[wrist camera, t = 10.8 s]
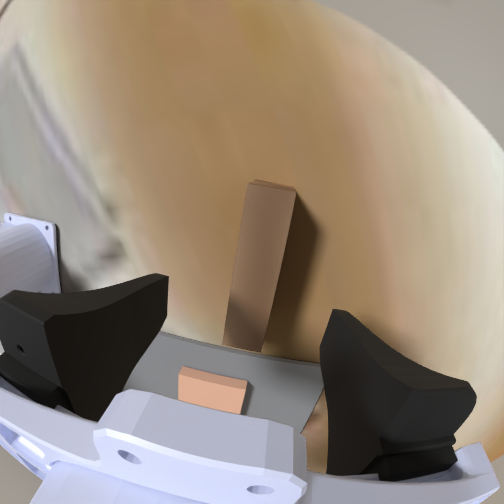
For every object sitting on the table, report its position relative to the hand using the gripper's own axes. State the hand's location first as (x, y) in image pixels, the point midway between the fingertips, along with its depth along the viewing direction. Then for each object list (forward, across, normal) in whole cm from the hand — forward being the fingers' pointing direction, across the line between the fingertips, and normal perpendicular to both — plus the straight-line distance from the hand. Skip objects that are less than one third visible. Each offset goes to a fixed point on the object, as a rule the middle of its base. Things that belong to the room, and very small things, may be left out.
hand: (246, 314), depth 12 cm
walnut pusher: (+9, 0, 0) cm, 9 cm away
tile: (+8, +2, +12) cm, 14 cm away
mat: (+9, +2, +17) cm, 19 cm away
